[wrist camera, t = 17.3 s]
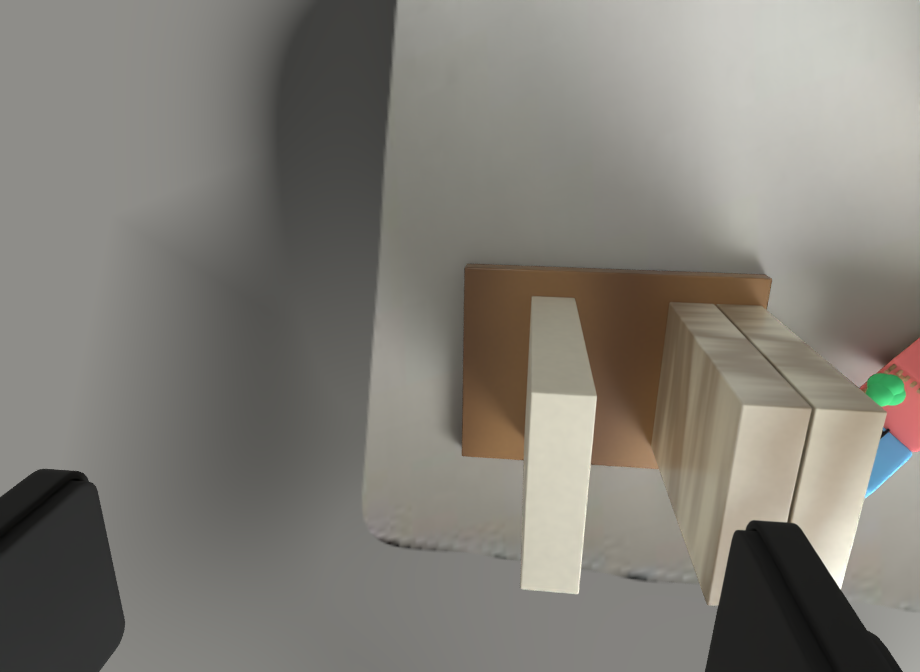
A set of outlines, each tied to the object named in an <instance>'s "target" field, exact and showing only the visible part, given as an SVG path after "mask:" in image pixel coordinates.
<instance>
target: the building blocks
mask: <svg viewBox="0 0 920 672" xmlns="http://www.w3.org/2000/svg"><path fill="white" fill-rule="evenodd" d="M859 389H860V390H862V391H863V392H864V393H865V394H866V395H868V396H869V397H870V398H871V399H872V400H873V401H875V402H876V403H877V404H878V405H879V406H881V407H882V408H883V409H884V410H885V411H886V412H887V415H886V419H885V422H884V426H883V430H882V434H881V438H880V442H879V445H878V449H877V453H876V457H875V461H874V464H873V468H872V472H871V476H870V480H869V484H868V487H867V491H866V495H865V498H866V497H867V496H869V495H870V494H871V493H873V492H874V491H875V490H876V489H877V488H878V487H879V486H880V485H881V484H883V483H884V482H885V481H886V480H887V479H888V478H889V477H890V476H891V475H892V474H893V473H894V472H896V471H897V470H898V469H899V468H900V467H901V466H902V465H903V464H904V463H905V462H906V461H908V459H909V458H910V457H911V456H912V452H918V451H920V338H918V339H917V340H916V341H915V342H914V343H912V344H911V345H910V346H909V347H907V348H906V349H905V350H904V351H902V352H901V353H900V354H899V355H897V356H896V357H895V358H894V359H892V360H891V361H890V362H889V363H888V364H887V365H885V366H884V367H883V368H882V369H881V370H880V371H879V372H877V373H876V374H874V375H872V376H871V377H870V378H869V379H868V381H867V382H866V383H865V384H864V385H862V386H861V387H860V388H859ZM911 451H912V452H911Z"/></svg>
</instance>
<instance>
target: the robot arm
mask: <svg viewBox="0 0 920 672" xmlns="http://www.w3.org/2000/svg"><path fill="white" fill-rule="evenodd" d="M124 627H125V619H124V615H123V610H122V605H121V600H120V596H119V590H118V586H117V581H116V576H115V571H114V567H113V562H112V558H111V552H110V548H109V543H108V538H107V534H106V529H105V524H104V519H103V514H102V510H101V505H100V500H99V496H98V491H97V488H96V486H95V485H94V484H93V483H91V482H89V481H88V478H87V477H86V476H85V474H84V473H81V472H79V471H68V470H54V469H40V470H37V471H35V472H34V473H32V474H31V475H29V476H28V477H27V478H25V479H24V480H23V481H21V482H20V483H18V484H17V485H16V486H14V487H13V488H12V489H11V490H9V491H8V492H7V493H5V494H4V495H3V496H1V497H0V672H99V671H100V670H101V668H102V667H103V666H104V664H105V663H106V662H107V660H108V659H109V658H110V656H111V655H112V654H113V652H114V651H115V650H116V648H117V647H118V645H119V644H120V641H121V639H122V636H123V633H124ZM705 672H903V671H902V670H901V668H900V667H899V665H898V664H897V662H896V661H895V659H894V658H893V656H892V655H891V653H890V652H889V650H888V649H887V647H886V646H885V645H884V644H883V643H882V641H881V640H880V639H879V638H878V637H877V636H876V635H874V634H873V633H871V632H869V631H867V630H866V628H865V627H864V625H863V624H862V623H861V621H860V619H859V618H858V616H857V615H856V613H855V611H854V610H853V608H852V607H851V605H850V604H849V602H848V600H847V599H846V597H845V596H844V594H843V593H842V591H841V590H840V588H839V587H838V585H837V583H836V582H835V580H834V579H833V577H832V576H831V574H830V573H829V571H828V569H827V568H826V566H825V565H824V563H823V562H822V560H821V559H820V557H819V556H818V554H817V552H816V551H815V549H814V548H813V546H812V545H811V543H810V542H809V540H808V539H807V537H806V535H805V534H804V532H803V531H802V529H801V528H800V527H799V526H798V525H797V524H795V523H787V522H774V521H760V520H752V521H750V522H749V523H748V525H747V527H746V530H736V531H735V532H734V534H733V537H732V541H731V546H730V551H729V556H728V560H727V565H726V570H725V575H724V580H723V585H722V590H721V595H720V600H719V605H718V610H717V615H716V620H715V625H714V630H713V635H712V640H711V645H710V650H709V655H708V660H707V665H706V669H705Z"/></svg>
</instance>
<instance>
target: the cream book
mask: <svg viewBox="0 0 920 672" xmlns="http://www.w3.org/2000/svg"><path fill="white" fill-rule="evenodd" d="M596 401H597V395H596V390H595V386H594V381H593V377H592V372H591V368H590V363H589V359H588V354H587V350H586V346H585V341H584V337H583V332H582V328H581V323H580V319H579V314H578V310H577V306H576V301H575V298H564V297H539V296H532V300H531V319H530V338H529V357H528V377H527V396H526V415H525V434H524V468H523V506H522V544H521V582H520V587H521V589H525V590H536V591H548V592H560V593H571V594H578V593H579V585H580V584H579V583H580V574H581V563H582V552H583V542H584V531H585V520H586V509H587V498H588V488H589V477H590V466H591V455H592V444H593V433H594V423H595V412H596Z"/></svg>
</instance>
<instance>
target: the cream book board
mask: <svg viewBox="0 0 920 672" xmlns="http://www.w3.org/2000/svg"><path fill="white" fill-rule="evenodd" d="M771 283H772V279H771V278H770V277H769V276H767V275H765V274H738V273H711V272H683V271H656V270H629V269H601V268H574V267H546V266H519V265H492V264H466V266H465V271H464V338H463V404H462V456H469V457H485V458H500V459H515V460H524V434H525V415H526V396H527V377H528V357H529V338H530V319H531V300H532V296H539V297H564V298H575V301H576V306H577V310H578V314H579V319H580V323H581V328H582V332H583V337H584V341H585V346H586V350H587V354H588V359H589V363H590V368H591V372H592V377H593V381H594V386H595V390H596V395H597V401H596V412H595V423H594V433H593V444H592V455H591V465H605V466H621V467H636V468H651V469H659V470H660V473H661V476H662V479H663V481H664V484H665V487H666V490H667V493H668V496H669V498H670V501H671V504H672V507H673V510H674V513H675V515H676V518H677V521H678V524H679V527H680V530H681V532H682V535H683V538H684V541H685V544H686V547H687V549H688V552H689V555H690V558H691V561H692V564H693V566H694V569H695V572H696V575H697V578H698V581H699V583H700V586H701V589H702V592H703V595H704V597H705V600H706V603H707V605H711V606H718V605H719V600H720V595H721V590H722V585H723V580H724V575H725V570H726V565H727V560H728V556H729V551H730V546H731V541H732V537H733V534H734V532H735V531H736V530H746V527H747V525H748V523H749V522H750V521H752V520H760V521H774V522H787V523H795V524H797V525H798V526H799V527H800V528H801V529H802V531H803V532H804V534H805V535H806V537H807V539H808V540H809V542H810V543H811V545H812V546H813V548H814V549H815V551H816V552H817V554H818V556H819V557H820V559H821V560H822V562H823V563H824V565H825V566H826V568H827V569H828V571H829V573H830V574H831V576H832V577H833V579H834V580H835V582H836V583H837V585H838V587H839V588H840V590H841V587H842V583H843V579H844V575H845V571H846V567H847V564H848V560H849V556H850V552H851V548H852V545H853V541H854V537H855V533H856V529H857V525H858V522H859V518H860V514H861V510H862V506H863V503H864V499H865V495H866V491H867V487H868V484H869V480H870V476H871V472H872V468H873V464H874V461H875V457H876V453H877V449H878V445H879V442H880V438H881V434H882V430H883V426H884V422H885V419H886V415H887V412H886V411H885V410H884V409H883V408H882V407H881V406H879V405H878V404H877V403H876V402H875V401H873V400H872V399H871V398H870V397H869V396H868V395H866V394H865V393H864V392H863V391H862V390H860V389H859V388H858V387H857V386H856V385H855V384H853V383H852V382H851V381H850V380H849V379H848V378H846V377H845V376H844V375H843V374H842V373H840V372H839V371H838V370H837V369H836V368H835V367H833V366H832V365H831V364H830V363H829V362H827V361H826V360H825V359H824V358H823V357H822V356H820V355H819V354H818V353H817V352H816V351H814V350H813V349H812V348H811V347H810V346H809V345H807V344H806V343H805V342H804V341H803V340H802V339H800V338H799V337H798V336H797V335H796V334H794V333H793V332H792V331H791V330H790V329H789V328H787V327H786V326H785V325H784V324H783V323H781V322H780V321H779V320H778V319H777V318H776V317H774V316H773V315H772V314H771V313H770V312H768V311H767V305H768V299H769V294H770V288H771Z"/></svg>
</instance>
